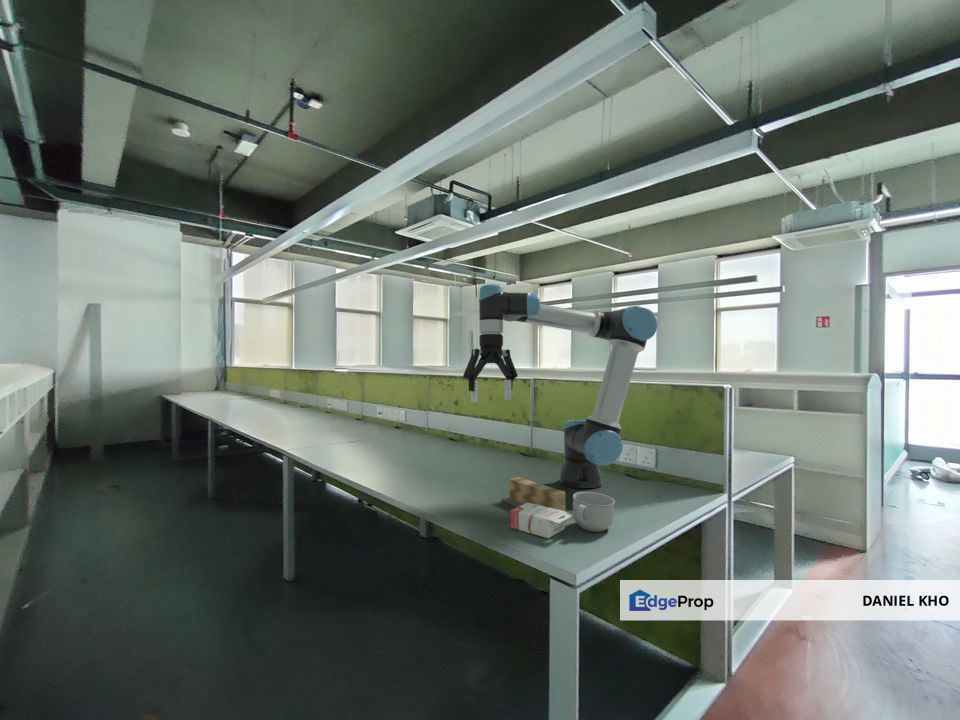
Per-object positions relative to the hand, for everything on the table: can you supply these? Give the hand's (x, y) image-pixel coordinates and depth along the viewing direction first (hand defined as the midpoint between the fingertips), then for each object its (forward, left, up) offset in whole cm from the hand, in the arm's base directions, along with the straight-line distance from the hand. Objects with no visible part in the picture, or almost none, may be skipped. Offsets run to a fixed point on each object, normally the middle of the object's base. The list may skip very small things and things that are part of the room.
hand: (491, 400), depth 133 cm
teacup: (-7, +33, -32) cm, 47 cm away
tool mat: (-7, +13, -32) cm, 35 cm away
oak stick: (-7, +13, -31) cm, 34 cm away
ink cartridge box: (+5, +19, -29) cm, 36 cm away
